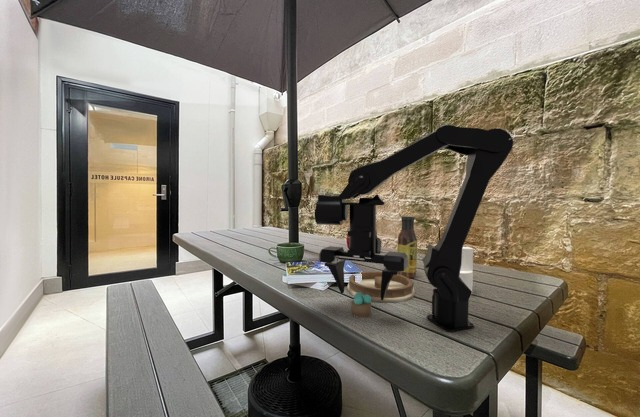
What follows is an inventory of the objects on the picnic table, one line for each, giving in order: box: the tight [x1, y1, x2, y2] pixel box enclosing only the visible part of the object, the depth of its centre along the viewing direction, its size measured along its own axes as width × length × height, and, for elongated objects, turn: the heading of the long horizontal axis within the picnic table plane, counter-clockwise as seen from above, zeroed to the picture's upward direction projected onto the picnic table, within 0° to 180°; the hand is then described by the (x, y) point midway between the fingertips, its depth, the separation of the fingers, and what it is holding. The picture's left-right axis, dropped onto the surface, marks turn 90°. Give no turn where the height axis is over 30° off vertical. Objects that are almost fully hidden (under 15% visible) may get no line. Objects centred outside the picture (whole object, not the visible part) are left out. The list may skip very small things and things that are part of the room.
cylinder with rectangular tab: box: [459, 246, 474, 295], centre depth 76 cm, size 9×9×12 cm
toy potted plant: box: [350, 292, 372, 319], centre depth 60 cm, size 4×4×4 cm
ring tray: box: [347, 270, 415, 304], centre depth 76 cm, size 18×18×4 cm
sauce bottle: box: [396, 215, 418, 279], centre depth 90 cm, size 7×6×20 cm
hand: (361, 296), depth 60 cm, fingers open, 9 cm apart
